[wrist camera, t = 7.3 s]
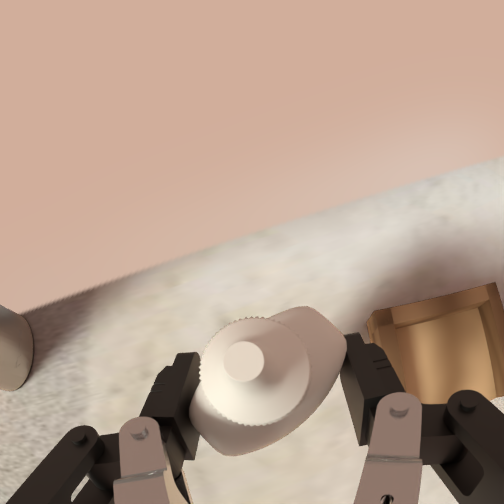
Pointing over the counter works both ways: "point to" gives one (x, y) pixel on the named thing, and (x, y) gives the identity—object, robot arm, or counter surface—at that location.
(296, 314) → the eye dropper bottle
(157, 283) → the counter surface
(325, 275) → the counter surface
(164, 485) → the robot arm
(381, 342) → the oak tray
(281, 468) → the counter surface
